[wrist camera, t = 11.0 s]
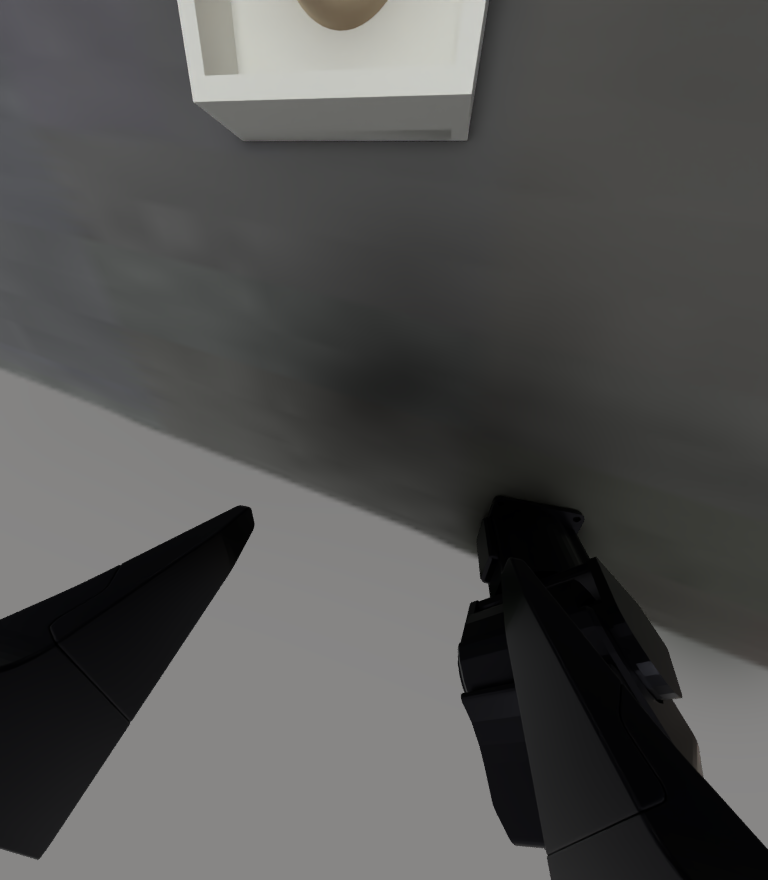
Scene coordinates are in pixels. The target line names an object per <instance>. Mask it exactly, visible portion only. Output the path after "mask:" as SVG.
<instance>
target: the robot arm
mask: <svg viewBox="0 0 768 880" xmlns="http://www.w3.org/2000/svg"><path fill="white" fill-rule="evenodd" d="M498 502H503V503H502V504H498ZM574 517H578V518H576V519H575V518H574ZM583 522H584V516H583V515H582V513H581V512H579V511H576V510H571V509H565V508H560V507H555V506H550V505H545V504H539V503H534V502H529V501H524V500H519V499H513V498H508V497H503V496H498V497H496V498H494V500H493V503H492V506H491V509H490V512H489V515H488V517H486V518H484V519H483V521H482V525H481V528H480V531H479V534H478V537H477V552H478V559H479V569H480V579H481V580H482V581H483V582H484V583H488V585H489V593H490V598H487V599H484V600H482V601H474V602H471V603H470V606H469V611H468V615H467V619H466V623H465V627H464V631H463V635H462V639H461V642H460V643H459V646H458V667H459V674H460V678H461V683H462V686H463V689H464V692H465V693H462V694H461V699H462V703H463V705H464V707H465V709H466V711H467V713H468V715H469V718H470V720H471V722H472V725H473V728H474V731H475V734H476V737H477V740H478V743H479V746H480V750H481V754H482V758H483V762H484V766H485V770H486V775H487V780H488V784H489V789H490V793H491V798H492V802H493V806H494V808H495V811H496V813H497V815H498V817H499V819H500V821H501V823H502V825H503V827H504V829H505V831H506V833H507V835H508V837H509V839H510V840H511V842H512V843H513V844H514V845H516V846H525V847H536V848H544V849H545V850H546V853H547V855H548V856H547V860H548V866H549V871H550V876H551V880H768V849H767V848H766V847H765V846H764V845H763V843H762V842H761V841H760V840H759V839H758V838H757V837H756V836H755V835H754V834H753V832H752V831H751V830H750V829H749V828H748V827H747V826H746V825H745V823H744V822H743V821H742V820H741V819H740V818H739V817H738V816H737V815H736V814H735V812H734V811H733V810H732V809H731V808H730V807H729V806H728V805H727V803H726V802H725V801H724V800H723V799H722V798H721V797H720V796H719V794H718V793H717V792H716V791H715V790H714V789H713V788H712V787H711V786H710V785H709V783H708V782H707V781H706V780H705V779H704V778H703V772H702V765H701V758H700V752H699V746H698V743H697V740H696V738H695V736H694V734H693V733H692V731H691V729H690V728H689V726H688V724H687V723H686V721H685V720H684V718H683V716H682V715H681V713H680V712H679V710H678V708H677V707H676V705H675V703H674V702H673V700H672V699H678V698H682V693H681V690H680V687H679V684H678V680H677V677H676V674H675V671H674V668H673V665H672V661H671V658H670V655H669V652H668V649H667V647H666V646H665V644H664V642H663V641H662V639H661V638H660V636H659V635H658V633H657V632H656V630H655V629H654V627H653V626H652V624H651V623H650V621H649V620H648V618H647V617H646V615H645V614H644V613H643V611H642V610H641V608H640V607H639V605H638V604H637V603H636V602H635V601H634V599H633V598H632V597H631V596H630V595H629V594H628V593H627V591H626V590H625V589H624V588H623V587H622V586H621V585H620V583H619V582H618V581H617V580H616V579H615V578H614V577H613V575H612V574H611V573H610V572H609V571H608V570H607V569H606V567H605V566H604V565H603V564H602V563H601V562H600V561H599V559H598V558H597V557H594V558H591V559H590V558H589V556H588V555H587V553H586V551H585V549H584V547H583V545H582V543H581V542H580V540H579V538H578V536H577V533H578V531H579V530H580V528H581V526H582V524H583ZM253 529H254V519H253V514H252V510H251V508H250V507H247V506H241V505H240V506H236V507H234V508H232V509H230V510H228V511H226V512H224V513H222V514H220V515H218V516H216V517H214V518H212V519H210V520H209V521H206V522H204V523H202V524H200V525H198V526H196V527H194V528H192V529H190V530H188V531H186V532H184V533H182V534H180V535H178V536H176V537H174V538H172V539H171V540H168V541H166V542H164V543H162V544H160V545H158V546H156V547H154V548H152V549H150V550H148V551H146V552H144V553H142V554H140V555H139V556H136V557H134V558H132V559H130V560H129V561H126V562H124V563H122V565H118V566H116V567H114V568H112V569H110V570H108V571H106V572H104V573H102V574H100V575H98V576H96V577H94V578H92V579H90V580H88V581H86V582H83V583H81V584H79V585H77V586H75V587H73V588H70V589H68V590H66V591H64V592H62V593H59V594H57V595H55V596H53V597H51V598H48V599H46V600H44V601H41V602H39V603H37V604H35V605H32V606H30V607H28V608H25V609H23V610H21V611H19V612H16V613H14V614H12V615H10V616H7V617H5V618H3V619H1V620H0V849H3V850H6V851H10V852H13V853H16V854H20V855H23V856H27V857H30V858H34V859H37V860H38V859H40V857H41V856H42V855H43V853H44V852H45V851H46V849H47V848H48V847H49V845H50V844H51V842H52V841H53V839H54V838H55V836H56V835H57V833H58V832H59V830H60V829H61V827H62V826H63V824H64V823H65V821H66V820H67V818H68V817H69V815H70V813H71V812H72V811H73V809H74V808H75V806H76V804H77V803H78V802H79V800H80V798H81V797H82V795H83V794H84V792H85V791H86V789H87V788H88V786H89V784H90V783H91V782H92V780H93V779H94V777H95V776H96V774H97V773H98V771H99V770H100V768H101V767H102V765H103V764H104V762H105V761H106V759H107V758H108V756H109V755H110V753H111V752H112V750H113V749H114V747H115V746H116V744H117V743H118V741H119V740H120V738H121V737H122V735H123V734H124V732H125V731H126V729H127V727H128V726H129V724H130V722H131V721H132V720H133V718H134V717H135V715H136V714H137V712H138V711H139V709H140V708H141V706H142V704H143V703H144V701H145V700H146V699H147V697H148V696H149V694H150V693H151V691H152V690H153V688H154V686H155V685H156V683H157V682H158V680H159V679H160V677H161V676H162V674H163V673H164V671H165V670H166V668H167V667H168V665H169V664H170V662H171V661H172V659H173V658H174V656H175V655H176V653H177V652H178V650H179V649H180V647H181V646H182V644H183V643H184V641H185V640H186V638H187V637H188V635H189V633H190V632H191V631H192V629H193V628H194V626H195V625H196V623H197V622H198V620H199V619H200V617H201V615H202V614H203V612H204V611H205V610H206V608H207V606H208V605H209V603H210V602H211V600H212V599H213V597H214V596H215V594H216V593H217V591H218V590H219V588H220V586H221V585H222V584H223V582H224V581H225V579H226V578H227V576H228V575H229V573H230V571H231V570H232V568H233V567H234V565H235V563H236V561H237V559H238V557H239V556H240V554H241V552H242V550H243V548H244V546H245V544H246V542H247V540H248V539H249V537H250V535H251V533H252V531H253Z"/></svg>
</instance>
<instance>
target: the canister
mask: <svg viewBox="0 0 768 880" xmlns="http://www.w3.org/2000/svg"><path fill="white" fill-rule="evenodd" d="M297 1H298V2H299V4H300V5H301V7H302V8H303V9H304V11H305V12H306V13H307V14H308V15H309V16H310V17H311V18H312V19H313V20H314V21H315V22H317V23H318V24H320V25H321V26H323V27H326V28H328V29H331V30H337V31H343V30H350V29H354V28H356V27H359V26H361V25H363V24H364V23H366V22H367V21H369V20H370V19H371V18H372V17H373V16H375V15H376V14H377V13H378V12H379V11H380V9H381V8H382V7H383V6H384V5H385V3H386V2H387V1H388V0H297Z"/></svg>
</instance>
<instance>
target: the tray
mask: <svg viewBox="0 0 768 880" xmlns="http://www.w3.org/2000/svg"><path fill="white" fill-rule="evenodd" d="M177 2H178V8H179V14H180V21H181V27H182V33H183V40H184V46H185V52H186V59H187V65H188V71H189V78H190V84H191V90H192V97H193V102H194V103H195V104H197V105H198V106H199V107H200V108H202V109H203V110H204V111H205V112H207V113H208V114H209V115H211V116H212V117H213V118H214V119H216V120H217V121H218V122H219V123H221V124H222V125H223V126H225V127H226V128H227V129H228V130H230V131H231V132H232V133H233V134H235V135H236V136H237V137H239V138H240V139H241V140H242V141H467V140H468V133H469V127H470V120H471V114H472V108H473V101H474V95H475V89H476V82H477V76H478V69H479V63H480V57H481V50H482V44H483V38H484V31H485V25H486V18H487V12H488V6H489V0H388V1H387V2H386V3H385V5H384V6H383V7H382V8H381V9H380V11H379V12H378V13H377V14H376V15H375V16H373V17H372V18H371V19H370V20H369V21H367V22H366V23H364V24H363V25H361V26H359V27H356V28H354V29H350V30H343V31H337V30H331V29H328V28H326V27H323V26H321V25H320V24H318V23H317V22H315V21H314V20H313V19H312V18H311V17H310V16H309V15H308V14H307V13H306V12H305V11H304V9H303V8H302V7H301V5H300V4H299V2H298V1H297V0H177Z"/></svg>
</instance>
